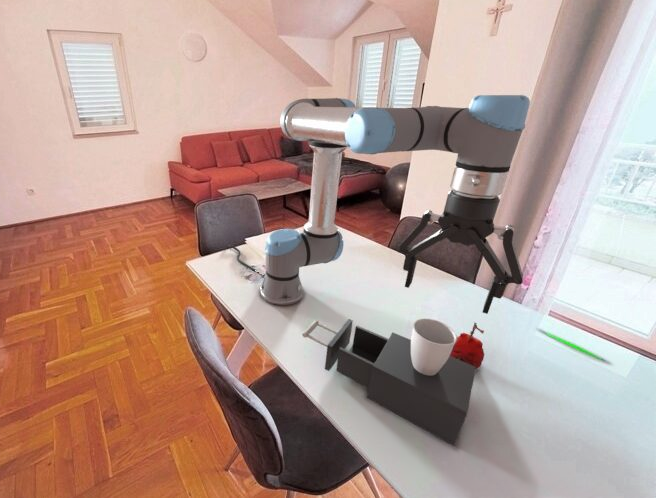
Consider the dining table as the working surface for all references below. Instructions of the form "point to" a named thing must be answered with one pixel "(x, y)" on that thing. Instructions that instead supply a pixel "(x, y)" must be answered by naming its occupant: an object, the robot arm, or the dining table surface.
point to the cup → (431, 345)
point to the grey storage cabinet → (422, 390)
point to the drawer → (351, 351)
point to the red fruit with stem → (469, 348)
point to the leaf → (574, 346)
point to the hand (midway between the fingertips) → (444, 296)
